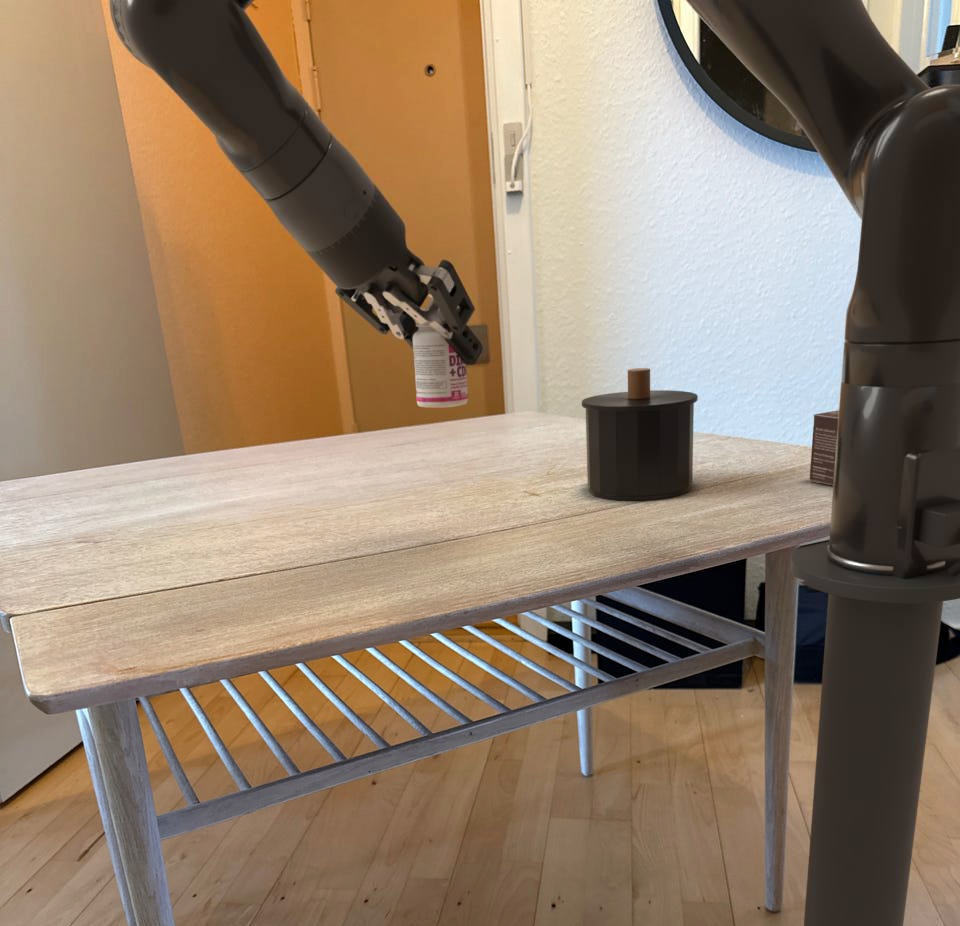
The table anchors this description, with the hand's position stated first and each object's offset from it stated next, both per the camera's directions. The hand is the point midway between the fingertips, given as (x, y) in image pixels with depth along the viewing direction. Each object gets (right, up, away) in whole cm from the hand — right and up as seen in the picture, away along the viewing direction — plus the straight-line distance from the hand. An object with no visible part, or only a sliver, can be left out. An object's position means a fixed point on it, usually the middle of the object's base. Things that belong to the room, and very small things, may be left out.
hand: (454, 356), depth 84 cm
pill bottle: (-1, -5, 0) cm, 5 cm away
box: (+42, -9, +15) cm, 46 cm away
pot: (+20, -9, +19) cm, 29 cm away
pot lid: (+20, 0, +15) cm, 25 cm away
